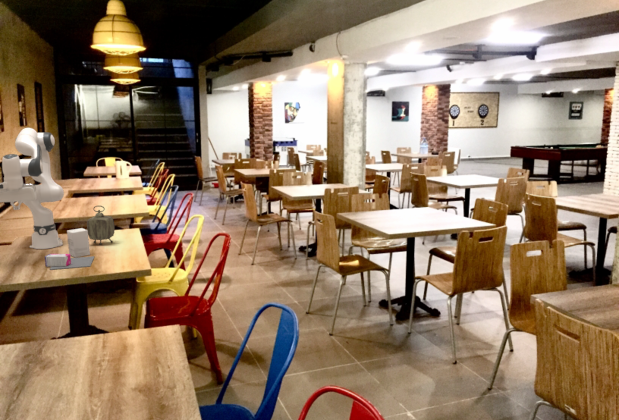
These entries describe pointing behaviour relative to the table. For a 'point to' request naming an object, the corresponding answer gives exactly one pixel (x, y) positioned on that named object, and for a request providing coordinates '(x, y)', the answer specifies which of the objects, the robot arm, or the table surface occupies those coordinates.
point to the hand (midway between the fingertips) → (16, 209)
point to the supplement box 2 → (78, 242)
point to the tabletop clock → (100, 227)
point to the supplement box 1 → (57, 260)
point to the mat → (76, 263)
